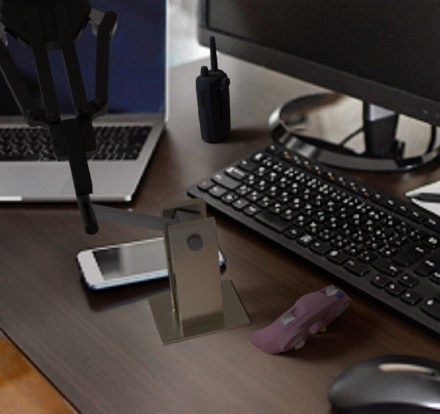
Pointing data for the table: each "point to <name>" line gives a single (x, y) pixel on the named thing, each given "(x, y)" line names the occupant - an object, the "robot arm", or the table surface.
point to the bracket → (194, 280)
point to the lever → (126, 217)
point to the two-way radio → (213, 100)
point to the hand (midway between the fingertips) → (84, 190)
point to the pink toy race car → (302, 320)
